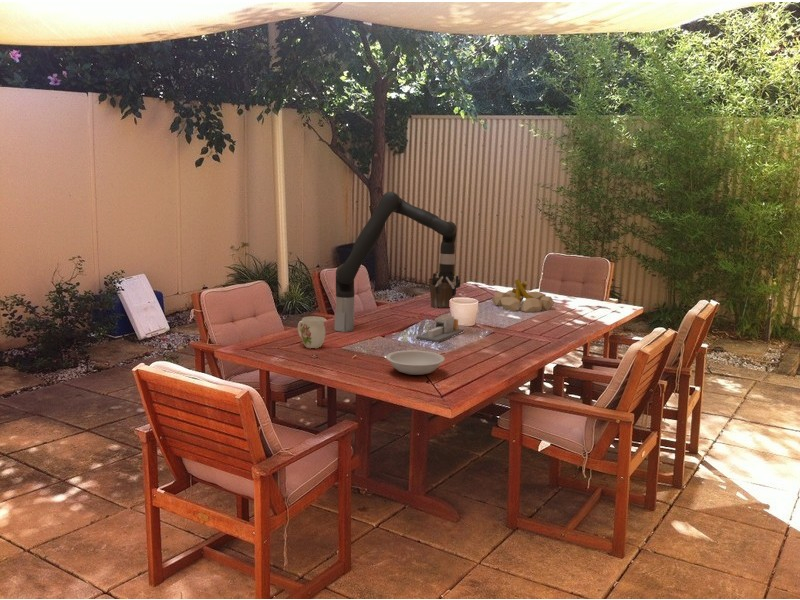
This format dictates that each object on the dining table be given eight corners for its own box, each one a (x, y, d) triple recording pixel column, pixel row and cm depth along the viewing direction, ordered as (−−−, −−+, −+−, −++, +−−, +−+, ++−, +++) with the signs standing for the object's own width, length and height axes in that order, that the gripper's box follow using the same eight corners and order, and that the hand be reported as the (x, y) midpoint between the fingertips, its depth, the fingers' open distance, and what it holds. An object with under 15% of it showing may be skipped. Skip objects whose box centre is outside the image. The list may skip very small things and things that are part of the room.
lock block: (445, 333, 385) (445, 320, 384) (434, 332, 388) (434, 318, 387) (454, 330, 394) (454, 316, 392) (443, 328, 397) (443, 315, 395)
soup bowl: (425, 362, 337) (426, 347, 336) (455, 377, 317) (455, 361, 315) (375, 368, 326) (376, 353, 325) (403, 384, 305) (403, 367, 304)
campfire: (484, 302, 479) (486, 275, 476) (534, 301, 490) (536, 274, 487) (509, 314, 447) (511, 284, 443) (562, 312, 457) (564, 283, 454)
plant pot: (423, 307, 458) (424, 280, 455) (432, 302, 473) (433, 276, 470) (449, 310, 452) (450, 282, 449) (458, 305, 467) (459, 278, 464)
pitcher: (306, 341, 369) (307, 312, 367) (334, 347, 358) (334, 318, 355) (289, 344, 361) (289, 315, 358) (316, 352, 350) (317, 322, 347)
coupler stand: (438, 343, 373) (438, 329, 371) (416, 339, 378) (416, 326, 377) (463, 332, 396) (464, 319, 395) (442, 329, 402) (443, 316, 401)
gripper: (430, 262, 384) (429, 294, 387) (456, 264, 377) (455, 297, 380) (437, 260, 391) (436, 292, 394) (463, 263, 384) (461, 295, 387)
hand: (445, 295), depth 387 cm, fingers open, 8 cm apart
